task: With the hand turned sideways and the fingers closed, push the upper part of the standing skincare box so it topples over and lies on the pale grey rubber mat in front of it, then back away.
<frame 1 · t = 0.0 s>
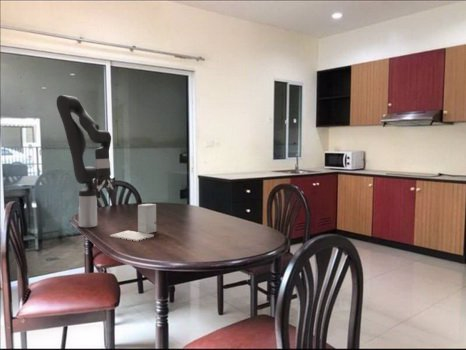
hand: (104, 197, 204), 17 cm above the table, tool pointing down, fingers open, 8 cm apart
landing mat: (132, 236, 189), on the table
skincare box: (147, 232, 199), on the table
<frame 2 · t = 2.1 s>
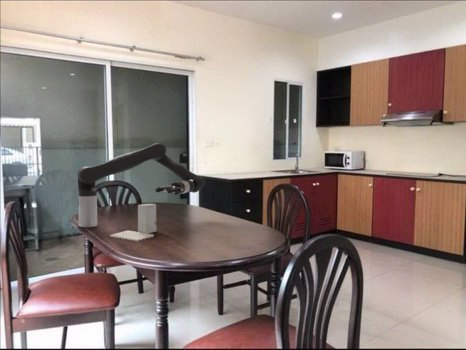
hand: (161, 191, 207), 21 cm above the table, tool horizontal, fingers open, 8 cm apart
nothing on the table moved.
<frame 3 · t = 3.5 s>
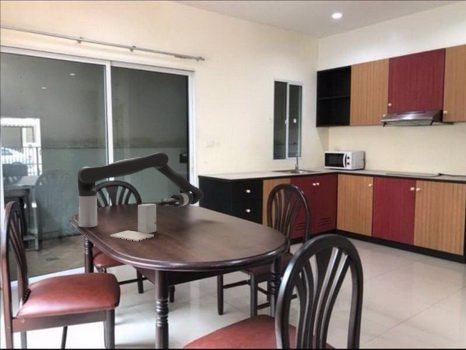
hand: (160, 204, 206), 14 cm above the table, tool horizontal, fingers closed
nothing on the table moved.
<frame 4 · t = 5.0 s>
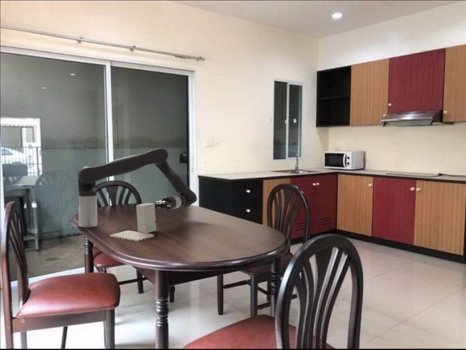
hand: (151, 206, 200), 13 cm above the table, tool horizontal, fingers closed
skincare box: (147, 231, 199), on the table, touching gripper
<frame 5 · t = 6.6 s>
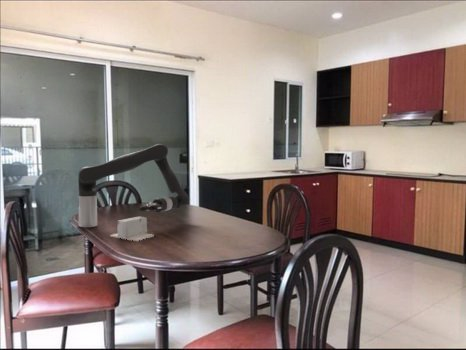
hand: (140, 209, 193), 13 cm above the table, tool horizontal, fingers closed
skincare box: (143, 223, 196), point 5 cm above the table, touching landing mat
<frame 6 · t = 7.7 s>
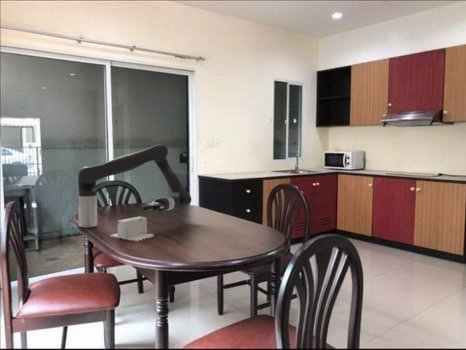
hand: (142, 208, 195), 13 cm above the table, tool horizontal, fingers closed
nothing on the table moved.
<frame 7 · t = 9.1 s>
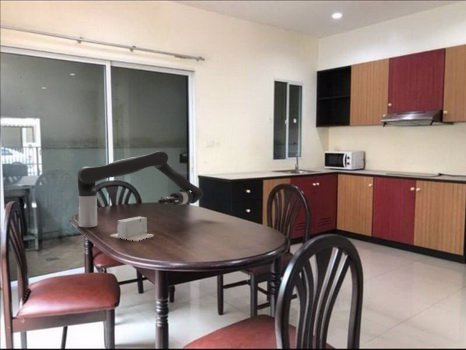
hand: (159, 201, 206), 15 cm above the table, tool horizontal, fingers closed
nothing on the table moved.
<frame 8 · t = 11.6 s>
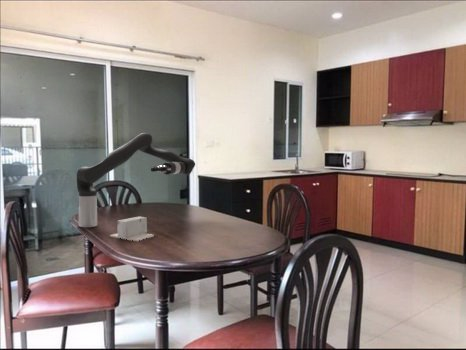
hand: (152, 169, 211), 32 cm above the table, tool horizontal, fingers closed
nothing on the table moved.
at the end: skincare box tilted 91°; skincare box inside the target area (6.5 cm from its centre), point 5.0 cm above the table; skincare box touching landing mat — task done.
